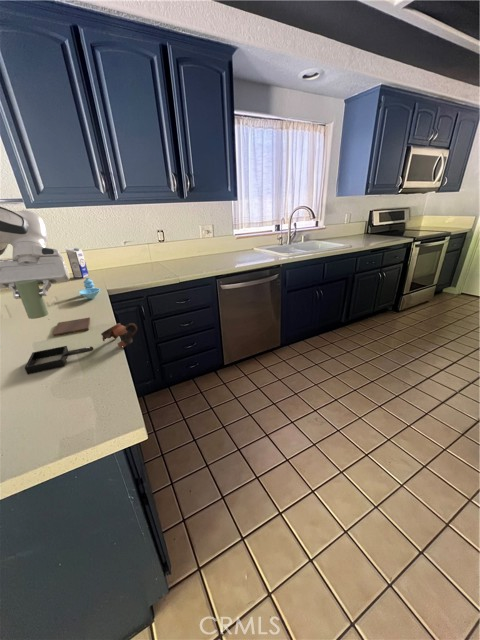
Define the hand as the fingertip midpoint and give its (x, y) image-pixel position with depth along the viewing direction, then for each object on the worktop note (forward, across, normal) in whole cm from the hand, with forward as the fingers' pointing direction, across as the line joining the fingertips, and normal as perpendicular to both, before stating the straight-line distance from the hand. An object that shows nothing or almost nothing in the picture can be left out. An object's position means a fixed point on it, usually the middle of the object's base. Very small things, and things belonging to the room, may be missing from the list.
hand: (30, 296), depth 79 cm
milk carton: (-66, -11, +97) cm, 118 cm away
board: (-2, +1, +32) cm, 32 cm away
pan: (+17, +4, +13) cm, 22 cm away
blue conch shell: (-31, +2, +61) cm, 69 cm away
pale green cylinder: (+4, 0, +5) cm, 6 cm away
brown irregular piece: (+13, +21, +17) cm, 30 cm away
